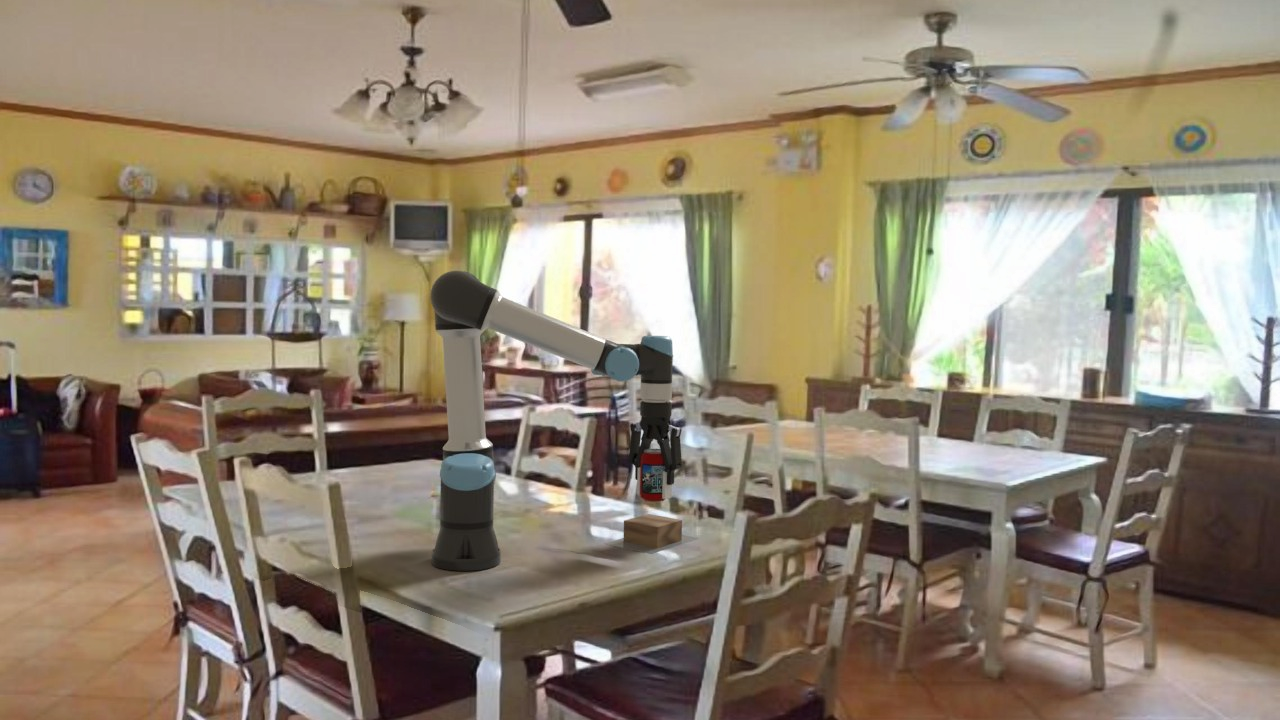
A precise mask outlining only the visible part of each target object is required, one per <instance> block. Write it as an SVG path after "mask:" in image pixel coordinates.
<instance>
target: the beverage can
mask: <svg viewBox="0 0 1280 720" xmlns="http://www.w3.org/2000/svg"><path fill="white" fill-rule="evenodd" d="M664 470H666V469H665V465H664V461H663V457H662V454H661V450H660V448H649V449H645V450H644V452H643V454H642V456H641V474H640V495H639V496H640V498H641V499H643V501H645V502H649V503H660V502H664V501H665V500H666V499H662V486H663V471H664Z"/></svg>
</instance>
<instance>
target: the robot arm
mask: <svg viewBox="0 0 1280 720" xmlns="http://www.w3.org/2000/svg"><path fill="white" fill-rule="evenodd" d="M429 299H430V303H431V305H432V309H433V312H434V325H435V326H434V327H435V332H436V333H437V334H438V335H439V336H440V337H441V339H442V347H443V348H442V349H443V366H444V382H445V383H444V384H445V399H446V412H447V414H446V415H447V416H446V417H447V430H448V431H447V433H448V439H447V442H446V443H445V444H444V446H443V447H442V459H443V460H442V462H441V465H440V470H439V477H440V499H439V500H440V501H439V502H440V506H439V507H440V509H439V510H440V514H439V516H440V517H439V530H438V531H439V532H438V534H437V538H436V541H435V545H434V548H433V549H432V552H431V564H432V566H434V567H435V568H438V569H442V570H447V571H454V572H455V571H457V572H458V571H459V572H463V571H464V572H467V571H468V572H470V571H479V570H480V571H481V570H486V569H491V568H494V567H496V566H498V565H500V564H501V557H502V556H501V554H502V552H501V549H500V547H499V544H498V540H497V536H496V533H495V528H494V503H495V502H494V500H495V499H494V498H495V497H494V494H495V483H496V482H495V481H496V478H497V472H496V468H495V461H494V460H495V459H494V445H493V442H491V441H490V440H489V439H488V438H487V435H486V417H485V416H486V415H485V402H484V401H485V400H484V398H485V397H484V381H483V366H482V365H483V363H482V347H481V345H482V344H481V335H482V334H483V333H484V331H485V330H487V329H489V330H492V331H494V332H497V333H499V334H502V335H504V336H506V337H509V338H512V339H514V340H516V341H519V342H522V343H524V344H527V345H529V346H532V347H534V348H537V349H540V350H542V351H545V352H547V353H550V354H552V355H555V356H557V357H560V358H562V359H565V360H567V361H570V362H572V363H574V364H577V365H580V366H582V367H584V368H587V369H590V371H591V373H592V374H593V375H594V376H602V377H605V376H607V377H608V378H609V377H610V379H612V380H614V381H617V382H621V383H623V382H626V381H629V380H632V379H633V378H634V377H636V376H640V391H639V392H640V394H639V397H640V399H641V400H642V401H641V402H639V403H640V405H639V406H640V408H639V415H640V416H641V418H640V421H639V422H637V421H636V422H632V423H630V424H629V427H630V442H629V452H628V461H627V462H628V464H632V465H633V466H634V467H635V468H634V471H635V473H634V475H635V476H634V479H635V480H636V481H637V486H636V487H637V488H636V490H637V491H636V493H637V495H638V496H640V474H641V456H642V454H643V452H644V450H645V449H651V448H650V447H651V444H652V442H653V441H654V440H655V441H656V442H657V445H658V446H659V449H660V450H661V454H662V457H663V461H664V465H665V469H666V470H664V471H663V486H662V499H665V500H667V499H670V498H672V493H673V492H672V489H673V488H672V486H673V485H674V483H675V471H677V470H679V469H680V470H681V469H682V468H683V462H682V461H683V460H682V447H681V435H682V431H683V430H682V427H680V426H678V427H677V426H674V425H672V421H671V417H672V412H673V411H672V408H673V407H672V404H673V403H672V402H671V401H670V400H671V399H672V398H673V397H672V396H673V362H674V361H673V360H674V359H673V358H674V354H673V351H674V350H673V339H672V338H671V337H670V336H668V335H643V336H642V337H641V341H640V343H635V344H632V343H631V344H630V343H616V342H613V341H611V340H608V339H606V338H604V337H601V336H599V335H597V334H593V333H591V332H589V331H587V330H584V329H581V328H579V327H577V326H575V325H572V324H570V323H567V322H565V321H562V320H560V319H557V318H555V317H552V316H550V315H547V314H545V313H543V312H540V311H538V310H535V309H532V308H530V307H528V306H527V305H523V304H521V303H518V302H515V301H513V300H511V299H508V298H506V297H504V296H502V294H501V293H500V291H499V290H498V289H496V288H493V287H491V286H489V285H487V284H485V283H483V282H481V281H480V279H479V278H478V277H476V275H474V274H472V273H470V272H468V271H463V270H452V271H451V270H450V271H446V272H444V273H443V274H441V275H440V276H439V277H437V279H436V280H435V281H434V283H433V284H432V287H431V289H430V298H429ZM669 435H670V436H669Z"/></svg>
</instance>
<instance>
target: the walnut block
mask: <svg viewBox="0 0 1280 720" xmlns="http://www.w3.org/2000/svg"><path fill="white" fill-rule="evenodd" d="M682 530H683V520H682V519H679V518H671V517H667V516H663V515H662V516H660V515H656V514H650V513H648V514H647V513H646V514H644V515H639V516H636V517H632V518H629V519H625V520H623V538H624V541H625V542H630V543H634V544H639V545H644V546H649V547H654V548H660V547H663V546H666V545H669V544H672V543H675V542H679V541H682V535H683V533H682V532H683V531H682Z"/></svg>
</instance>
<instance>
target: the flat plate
mask: <svg viewBox="0 0 1280 720" xmlns="http://www.w3.org/2000/svg"><path fill="white" fill-rule="evenodd" d="M699 539H701V538H700V537H697V536H696V537H695V536H690V535H685V534H682V541H679V542H675V543H672V544H669V545H666V546H663V547H660V548H654V547H649V546H644V545H639V544H634V543H630V542H625V541H624V537H621V538H619V539H615V540H612V541H609V542H605V543H604V544H603V545H606V546H613V547H617V548H622V549H627V550H631V551H636V552H639V553H640V552H641V553H645V554H650V555H653V554H655V553H660V552H662V551H665V550H669V549H671V548H674V547H678V546H681V545H684V544H687V543H689V542H693V541H697V540H699Z"/></svg>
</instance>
